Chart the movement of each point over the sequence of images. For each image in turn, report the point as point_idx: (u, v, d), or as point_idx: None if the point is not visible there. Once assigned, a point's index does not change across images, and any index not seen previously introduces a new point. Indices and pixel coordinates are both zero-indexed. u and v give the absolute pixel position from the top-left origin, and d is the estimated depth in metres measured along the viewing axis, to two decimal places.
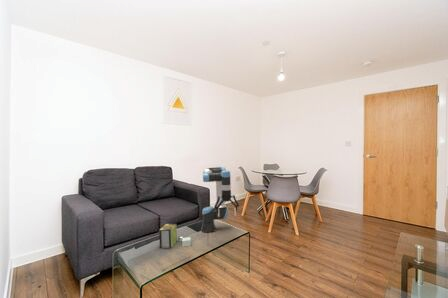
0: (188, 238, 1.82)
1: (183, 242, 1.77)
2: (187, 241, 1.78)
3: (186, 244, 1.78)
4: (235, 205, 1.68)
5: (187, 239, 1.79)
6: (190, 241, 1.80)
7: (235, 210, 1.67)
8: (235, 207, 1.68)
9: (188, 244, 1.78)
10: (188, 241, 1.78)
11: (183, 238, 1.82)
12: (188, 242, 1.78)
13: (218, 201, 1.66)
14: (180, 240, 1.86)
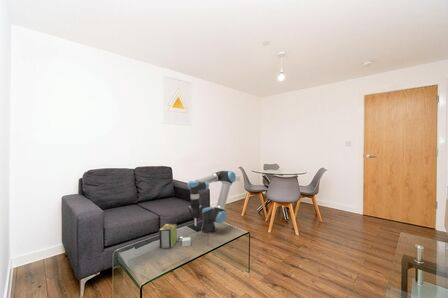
0: (188, 238, 1.82)
1: (183, 242, 1.77)
2: (187, 241, 1.78)
3: (186, 244, 1.78)
4: (197, 215, 1.82)
5: (187, 239, 1.79)
6: (190, 241, 1.80)
7: (195, 220, 1.81)
8: (196, 218, 1.82)
9: (188, 244, 1.78)
10: (188, 241, 1.78)
11: (183, 238, 1.83)
12: (188, 242, 1.78)
13: (190, 211, 1.81)
14: (180, 240, 1.86)
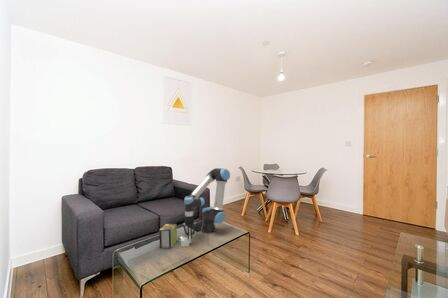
0: (187, 238, 1.82)
1: (182, 242, 1.77)
2: (186, 241, 1.78)
3: (185, 244, 1.78)
4: (191, 233, 1.81)
5: (186, 239, 1.79)
6: None
7: (190, 238, 1.80)
8: (190, 235, 1.81)
9: (187, 244, 1.78)
10: (187, 241, 1.78)
11: (182, 238, 1.82)
12: (187, 242, 1.78)
13: (185, 228, 1.80)
14: (180, 240, 1.86)
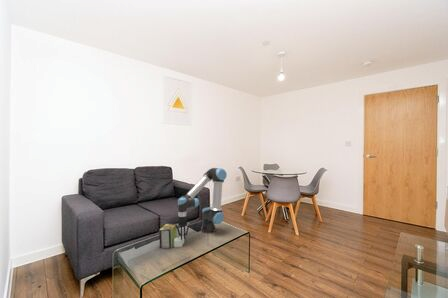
0: (180, 239, 1.81)
1: (175, 243, 1.77)
2: (179, 241, 1.77)
3: (178, 245, 1.77)
4: (184, 233, 1.80)
5: (179, 240, 1.78)
6: None
7: (183, 238, 1.80)
8: (183, 235, 1.80)
9: (180, 245, 1.77)
10: (180, 242, 1.77)
11: (175, 238, 1.82)
12: (180, 243, 1.77)
13: (178, 228, 1.79)
14: None
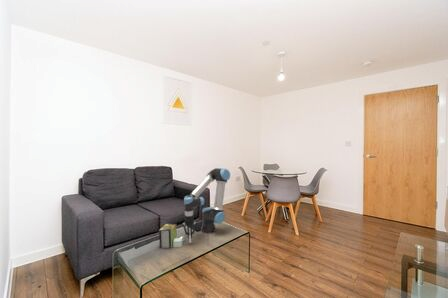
0: (180, 239, 1.81)
1: (174, 243, 1.77)
2: (179, 242, 1.77)
3: (177, 245, 1.77)
4: (191, 232, 1.81)
5: (178, 240, 1.78)
6: (181, 242, 1.79)
7: (190, 237, 1.81)
8: (190, 234, 1.82)
9: (179, 245, 1.77)
10: (179, 242, 1.77)
11: (175, 239, 1.82)
12: (179, 243, 1.77)
13: (184, 228, 1.80)
14: None
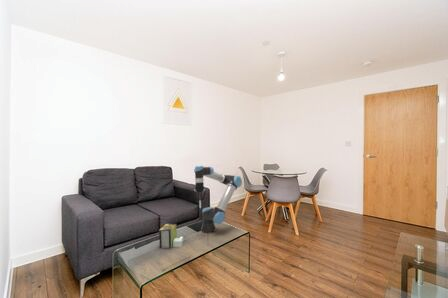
0: (180, 239, 1.81)
1: (174, 243, 1.77)
2: (178, 242, 1.77)
3: (177, 245, 1.77)
4: (201, 198, 1.91)
5: (178, 240, 1.78)
6: (181, 242, 1.79)
7: (200, 203, 1.90)
8: (200, 200, 1.91)
9: (179, 245, 1.77)
10: (179, 242, 1.77)
11: (175, 239, 1.82)
12: (179, 243, 1.77)
13: (195, 194, 1.90)
14: None
